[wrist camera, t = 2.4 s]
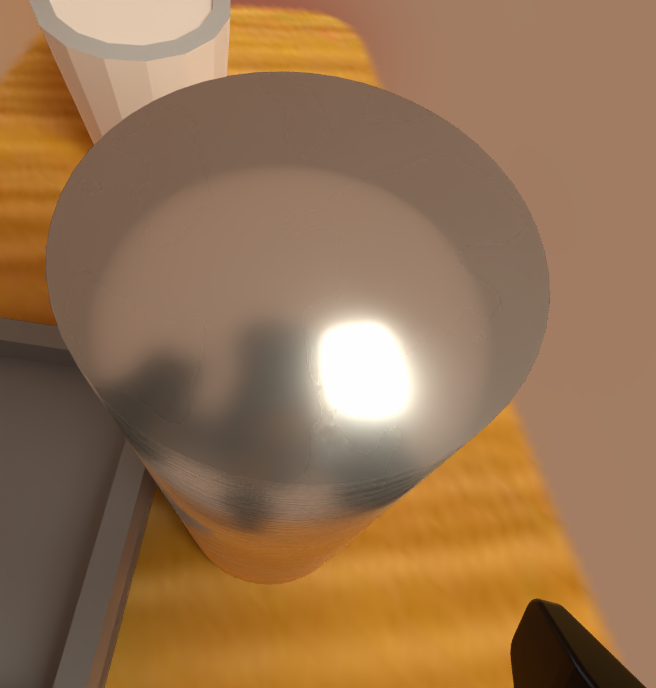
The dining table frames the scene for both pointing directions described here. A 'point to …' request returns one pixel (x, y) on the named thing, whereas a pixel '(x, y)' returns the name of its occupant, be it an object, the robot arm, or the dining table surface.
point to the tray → (62, 516)
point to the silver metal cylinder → (294, 304)
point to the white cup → (132, 51)
